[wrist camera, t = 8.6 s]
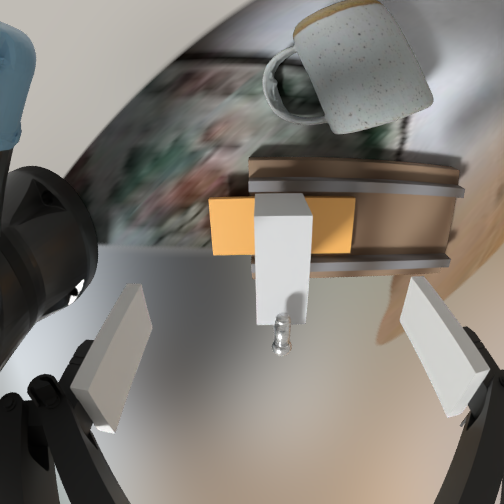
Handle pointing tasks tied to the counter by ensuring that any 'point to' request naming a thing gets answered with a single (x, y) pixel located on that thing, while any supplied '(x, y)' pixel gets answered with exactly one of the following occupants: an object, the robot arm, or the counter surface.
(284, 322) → the keeper hook
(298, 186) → the brown piece
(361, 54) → the ceramic mug
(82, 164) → the counter surface
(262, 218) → the white block on base
